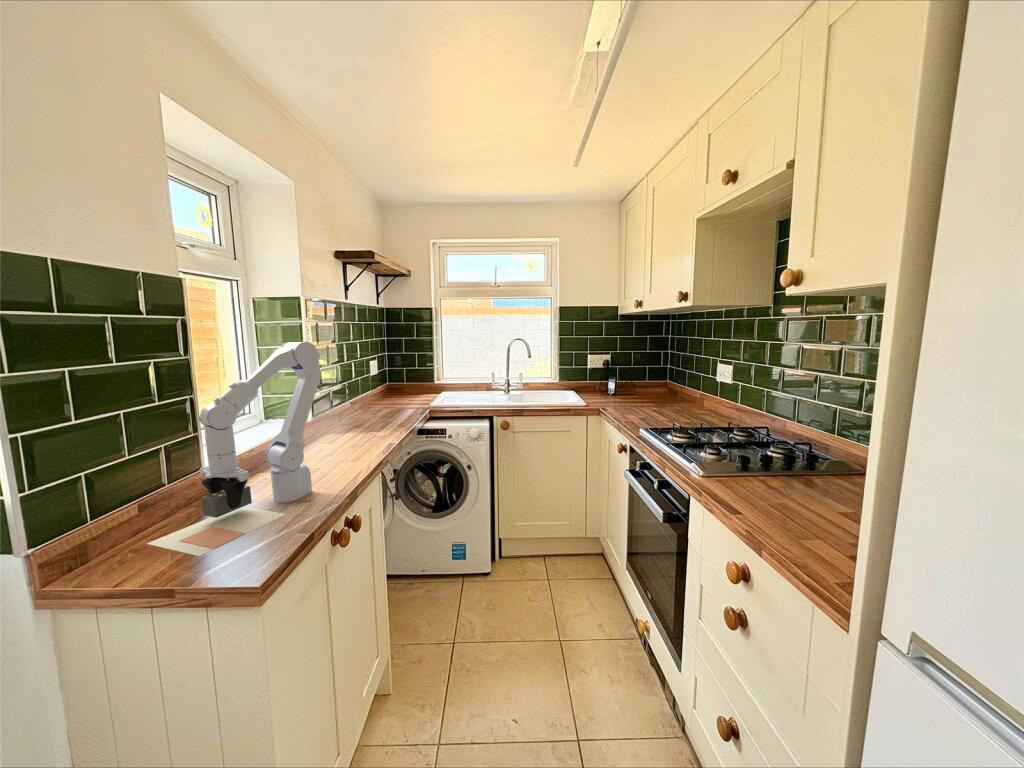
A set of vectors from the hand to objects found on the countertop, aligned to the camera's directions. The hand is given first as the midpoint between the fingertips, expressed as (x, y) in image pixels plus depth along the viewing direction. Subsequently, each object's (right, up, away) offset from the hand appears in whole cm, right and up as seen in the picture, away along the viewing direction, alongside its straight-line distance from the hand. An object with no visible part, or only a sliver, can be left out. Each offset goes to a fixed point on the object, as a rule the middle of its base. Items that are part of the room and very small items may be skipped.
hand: (228, 505), depth 104 cm
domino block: (0, -1, 0) cm, 1 cm away
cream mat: (+3, -4, -6) cm, 8 cm away
